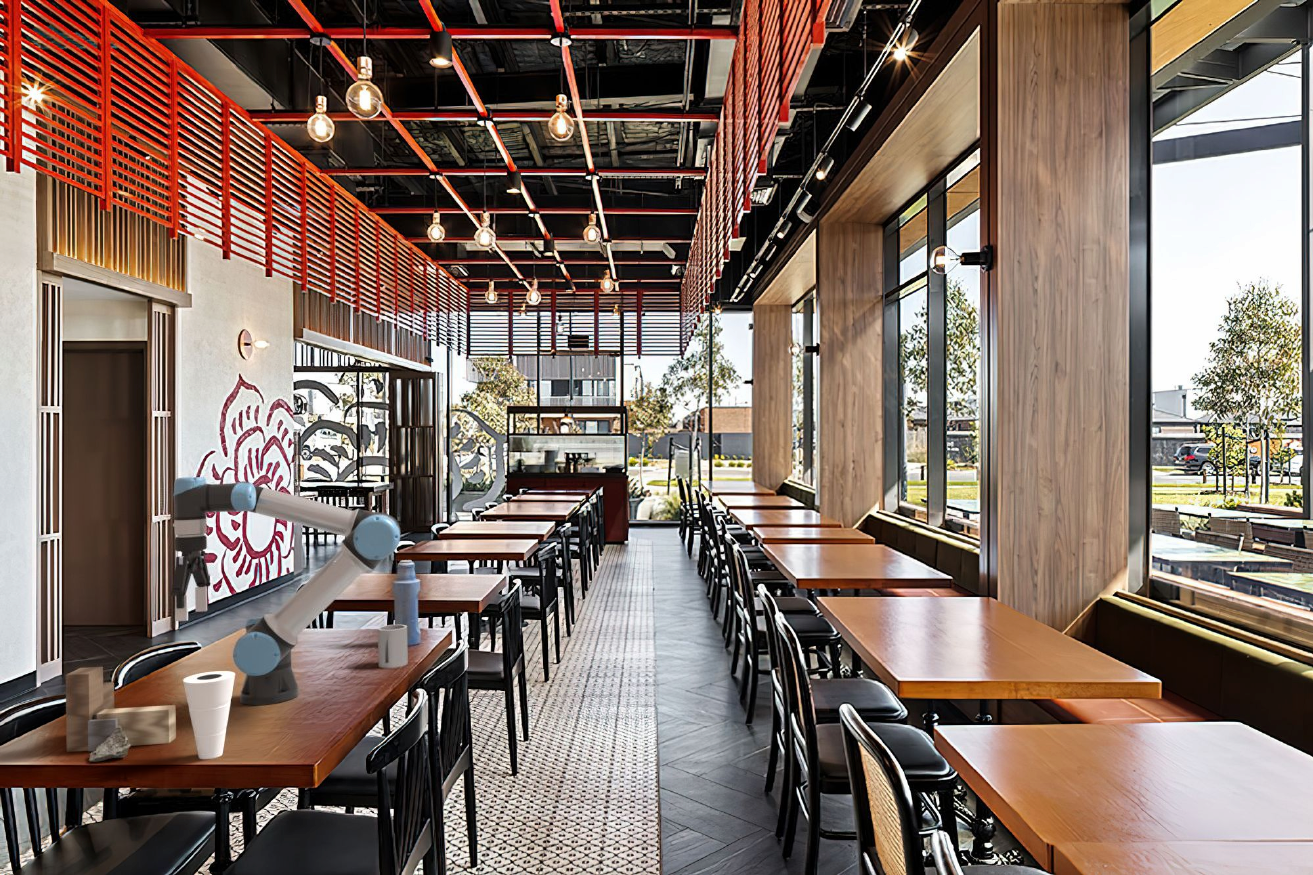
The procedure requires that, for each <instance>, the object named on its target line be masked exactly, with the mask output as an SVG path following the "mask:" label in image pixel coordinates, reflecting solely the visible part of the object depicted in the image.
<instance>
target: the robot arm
mask: <svg viewBox="0 0 1313 875" xmlns="http://www.w3.org/2000/svg"><path fill="white" fill-rule="evenodd" d="M206 480H207V479H206V478H205V477H203V476H199V477H198V476H195V477H194V476H191V477H178V478H176V479H175V480H174V484H173V485H174V486H173V510H174V511H173V512H174V513H173V514H174V522H173V524H172V527H173V528H174V536H175V537H174V550H175V551H176V552H181V556H176V558H175V567H174V573H173V574H174V575H173V581H172V585H171V592H170V595H171V597H175V603H174V604H175V622H186V621H187V622H188V621H189V602H188V601H189V600H188V599H189V596H188V594H187V591H188V588H189V585H190V584H189V583H190V580H191V577H193V580H194V582H195V585H196V587H194V593H195V594H194V596H195V603H194V604H195V612H207V611H208V587H211V579H210V575H209V570H208V565H207V559H206V551H205V550H206V549H207V548H208V544H207V543H208V542H207V539H208V538H207V535H205V534H206V533H208V532H207V528H208V526H207V513H221V512H222V513H223V512H224V513H225V512H230V513H231V512H233V513H234V512H239V513H242V512H245V511H246V512H250V513H254V514H259V515H261V516H262V515H263V516H266V517H270V518H274V519H276V520H277V519H278V520H282V521H285V522H289V523H293V524H297V525H299V526H300V525H301V526H304V527H309V528H311V529H312V528H313V529H316V530H320V531H324V532H328V533H331V534H335V535H338V536H343V537H344V538H343V540H341V547H340V550H338V552H337V553H335V555H334V556H333V557H332V558H330V560H329V561H328V562H326V564H324V566H322V567H321V568H320V569H319V570H318V571H317V572H316V573H315V574H314V575H313V576H312V577H311V578H310V579H309V580H308V581H307V582H306V583H304V584H303V585H302V586H301V587H300V588H299V590H298V591H296V592H295V593H294V594H293V595H292V596H291V597H290V598H289V599H288V600H287V601H286V602H284V604H283V605H282V606H281V607H279V609H278V610H277V611H276V612H274V613H265V614H264V615H263V616H259V617H258V616H257V617H249V618H247V619H246V622H245V627H244V629H245V634H243V635H242V636H240V637H239V638H238V639H237V641H236V642H235V644H234V647H233V651H232V659H233V663H234V664H235V666H236V668H237V669H238V670H239V671H240V672H241V673H243V674H245V678H244V681H243V684H242V687H241V690H240V694H239V701H240V703H241V704H244V705H249V706H251V705H252V706H261V705H262V706H263V705H264V706H265V705H271V704H277V703H282V702H286V701H290V700H292V699H295V698H297V697H298V696H299V685H298V682H297V679H296V676H295V674H294V670H293V668H292V649H293V648H295V647H296V646H297V645H298V643H299V635H300V634H301V633H302V632H303V631H304V630H305V629H306V628H307V627H308V626H310V624H312V622H313V621H314V620H315V619H316V618H317V617H318V616H319V615H320V614H322V613H323V612H324V611H325V610H326V609H327V608H328V607H329V606H330V605H331V604H332V603H333V602H334V601H335V600H336V599H337V598H338V597H339V596H340V595H341V594H342V593H343V592H344V591H345V590H346V589H347V588H348V587H349V586H350V585H351V584H352V583H354V582H355V581H356V579H357V578H358V577H360V575H362V574H363V573H364V572H366V571H370V572H371V571H373V570H374V569H375V568H377V566H379V565H380V564H381V563H383V560H385V559H386V558H388V557H389V556H390V555H392V554H393V553H394V552H395V551H396V550H397V548H398V546H399V543H400V540H401V535H402V534H401V531H402V530H401V527H400V526H401V525H400V524H399V522H398V520H397V519H396V518H395V517H394V516H392V515H390V514H388V513H384V512H379V511H378V512H376V511H369V510H365V509H361V508H357V509H355V510H350V509H346V508H344V507H340V506H336V505H332V504H328V503H325V502H320V501H316V500H313V499H309V498H305V497H301V496H298V495H293V494H290V493H287V492H282V491H279V490H275V489H270V488H268V487H262V486H259V485H256V484H253V483H251V482H248V481H244V480H243V481H237V482H233V483H216V484H215V483H214V484H212V483H211V484H210V483H208V482H207V481H206Z"/></svg>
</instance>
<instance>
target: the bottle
mask: <svg viewBox="0 0 1313 875" xmlns="http://www.w3.org/2000/svg"><path fill="white" fill-rule="evenodd" d="M415 567H416V566H415V562H413V561H412V560H411V559H408V560H407V559H405V560H403V559H402V560H400V561H399V563H397V572H396V573H397V574H396V579H394V580H392V582H391V583H392V586H391V588H392V590H391V591H392V596H393V600H394V625H406V626H407V647H413V646H417V645H419V644H421V641H422V640H421V639H422V638H421V637H422V636H421V634H422V633H421V629H420V627H419V626H420V625H419V594H420V592H421V580H420V579H419V578H416V572H415Z"/></svg>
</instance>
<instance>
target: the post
mask: <svg viewBox="0 0 1313 875" xmlns="http://www.w3.org/2000/svg"><path fill="white" fill-rule="evenodd" d="M102 709H115V683H114V681H109V682H106V681H105V682H104V667H103V666H91V667H89V666H88V667H79V668H77V669H76V670H74V671H71V672H69V673H67V674H66V675H65V715H66V716H65V717H66V718H65V723H66V726H65V728H66V732H65V734H66V735H65V736H66V752H67V753H68V752H69V753H70V752H71V753H73V752H85V751H88V752H93V751H94V750H95V749H96V748H97V747H98V746H99V745H101V744H102V743H104V742H105V741H106V739H107V738H109V737H110V736H111V734H113V732H114V731H115V729H116V728H117V727H118V718H112V719H97V720H94V714H96V713H97V712H99V711H101V710H102Z"/></svg>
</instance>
